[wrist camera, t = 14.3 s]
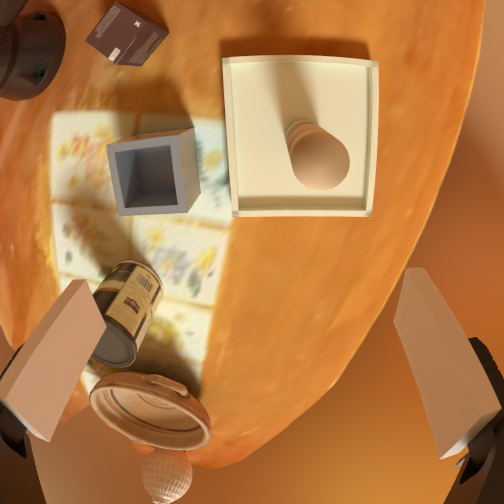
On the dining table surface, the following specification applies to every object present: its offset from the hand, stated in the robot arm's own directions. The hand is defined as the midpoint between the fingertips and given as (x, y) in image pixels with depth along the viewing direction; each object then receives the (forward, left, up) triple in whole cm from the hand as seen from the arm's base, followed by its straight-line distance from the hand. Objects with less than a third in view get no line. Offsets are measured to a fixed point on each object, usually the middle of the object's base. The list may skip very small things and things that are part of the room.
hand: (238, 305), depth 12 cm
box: (-17, -15, -30) cm, 38 cm away
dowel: (-2, +5, -28) cm, 29 cm away
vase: (+90, -32, -30) cm, 100 cm away
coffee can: (+21, -22, -30) cm, 42 cm away
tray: (-2, +5, -29) cm, 30 cm away
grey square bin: (+1, -13, -29) cm, 32 cm away
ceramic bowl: (+52, -26, -30) cm, 65 cm away
